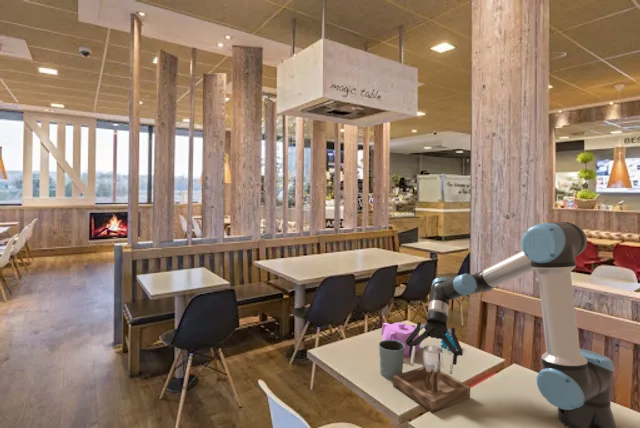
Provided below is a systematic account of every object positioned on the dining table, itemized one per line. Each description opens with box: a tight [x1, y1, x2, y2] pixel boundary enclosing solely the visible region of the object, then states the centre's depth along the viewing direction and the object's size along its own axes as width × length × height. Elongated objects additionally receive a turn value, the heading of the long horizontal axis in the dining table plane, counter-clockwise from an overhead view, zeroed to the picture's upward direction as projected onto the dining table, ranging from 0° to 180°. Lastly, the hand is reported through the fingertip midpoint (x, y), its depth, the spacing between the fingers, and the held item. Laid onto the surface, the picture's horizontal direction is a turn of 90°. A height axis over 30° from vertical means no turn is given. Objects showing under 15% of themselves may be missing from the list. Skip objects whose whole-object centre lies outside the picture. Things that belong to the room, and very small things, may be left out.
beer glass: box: [421, 345, 444, 394], centre depth 134 cm, size 7×7×15 cm
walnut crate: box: [392, 366, 471, 414], centre depth 135 cm, size 19×19×4 cm
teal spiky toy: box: [439, 332, 458, 352], centre depth 173 cm, size 11×6×10 cm
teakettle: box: [380, 321, 422, 358], centre depth 170 cm, size 17×17×12 cm
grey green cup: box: [378, 340, 405, 380], centre depth 147 cm, size 10×10×12 cm
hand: (430, 368), depth 132 cm, fingers open, 13 cm apart
